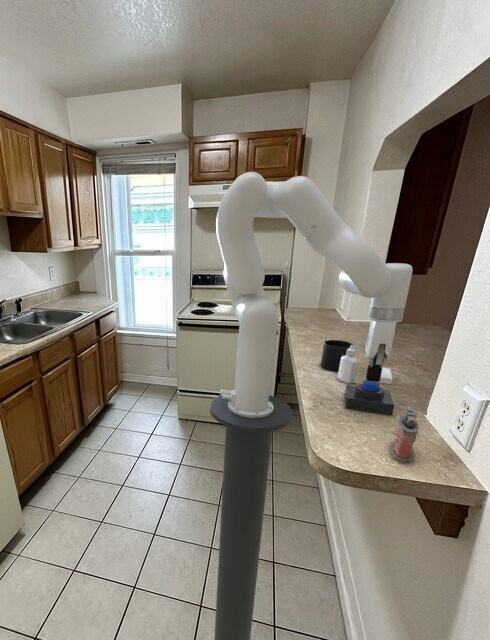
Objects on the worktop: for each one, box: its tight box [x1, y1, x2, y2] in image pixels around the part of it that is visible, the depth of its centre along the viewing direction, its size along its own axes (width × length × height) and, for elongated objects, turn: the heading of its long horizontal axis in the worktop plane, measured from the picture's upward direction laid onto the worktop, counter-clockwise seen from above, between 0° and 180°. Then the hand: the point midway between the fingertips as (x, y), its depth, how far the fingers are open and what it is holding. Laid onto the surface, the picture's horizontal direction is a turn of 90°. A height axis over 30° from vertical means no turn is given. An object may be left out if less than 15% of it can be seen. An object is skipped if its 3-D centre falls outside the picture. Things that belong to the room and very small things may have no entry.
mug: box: [320, 339, 354, 373], centre depth 124 cm, size 9×12×9 cm
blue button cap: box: [361, 379, 380, 392], centre depth 97 cm, size 4×4×2 cm
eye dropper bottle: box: [337, 344, 359, 385], centre depth 113 cm, size 4×6×12 cm
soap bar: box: [378, 366, 394, 385], centre depth 117 cm, size 5×9×3 cm, turn 152°
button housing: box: [344, 383, 395, 416], centre depth 98 cm, size 11×10×5 cm
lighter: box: [391, 406, 420, 464], centre depth 75 cm, size 8×3×10 cm, turn 151°
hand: (372, 380), depth 96 cm, fingers closed
